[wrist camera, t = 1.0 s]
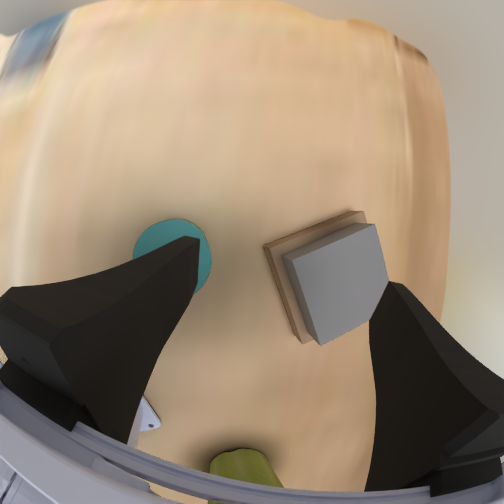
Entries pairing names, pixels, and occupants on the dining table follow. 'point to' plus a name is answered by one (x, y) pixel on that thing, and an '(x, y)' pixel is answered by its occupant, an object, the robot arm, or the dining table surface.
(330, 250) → the grey square block
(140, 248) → the teal cylinder
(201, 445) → the dining table surface
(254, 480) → the plant pot
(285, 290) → the walnut slab
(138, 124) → the dining table surface
